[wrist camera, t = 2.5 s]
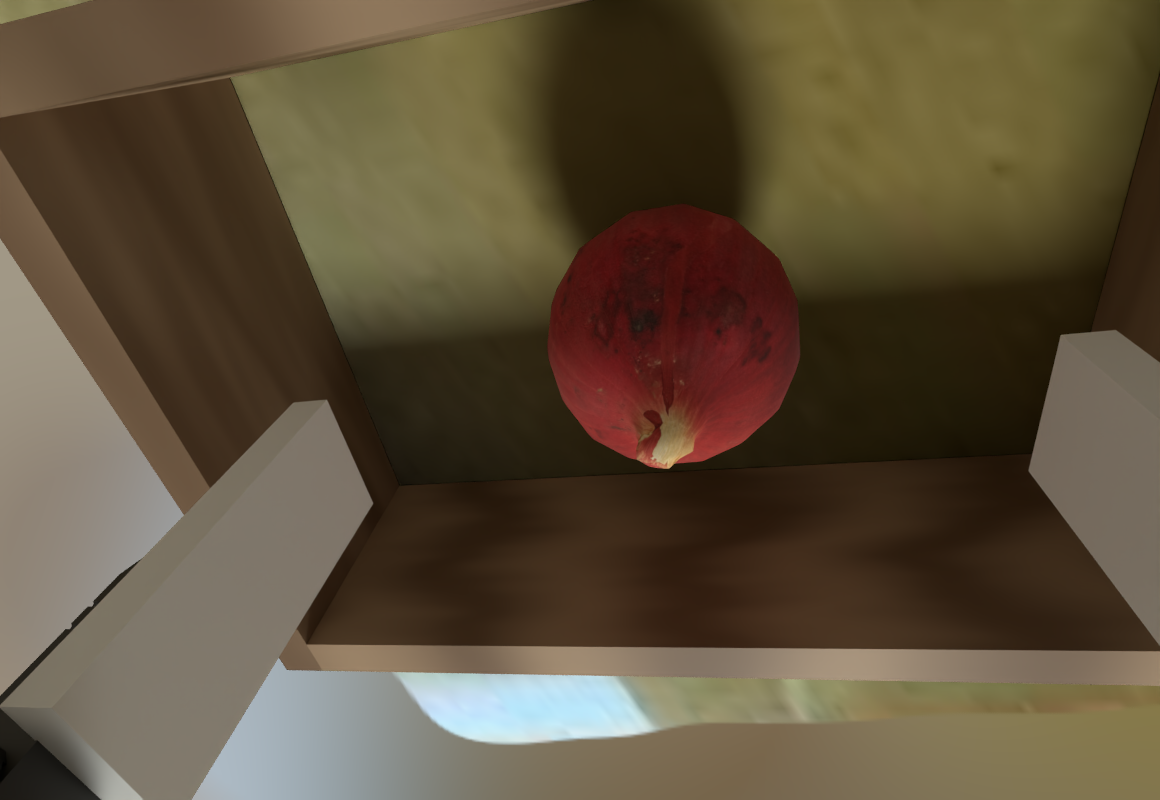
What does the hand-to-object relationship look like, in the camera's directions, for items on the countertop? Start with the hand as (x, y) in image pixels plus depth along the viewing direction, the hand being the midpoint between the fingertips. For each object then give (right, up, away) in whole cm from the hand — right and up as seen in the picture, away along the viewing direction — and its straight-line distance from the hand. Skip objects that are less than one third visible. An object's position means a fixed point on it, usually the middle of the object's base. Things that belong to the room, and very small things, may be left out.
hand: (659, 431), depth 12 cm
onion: (+1, +4, +6) cm, 8 cm away
